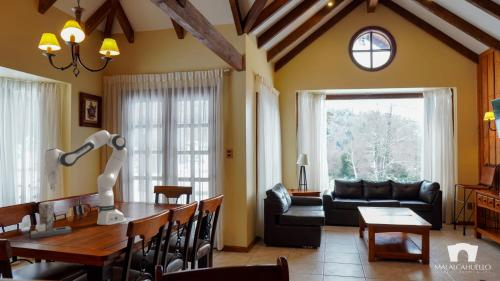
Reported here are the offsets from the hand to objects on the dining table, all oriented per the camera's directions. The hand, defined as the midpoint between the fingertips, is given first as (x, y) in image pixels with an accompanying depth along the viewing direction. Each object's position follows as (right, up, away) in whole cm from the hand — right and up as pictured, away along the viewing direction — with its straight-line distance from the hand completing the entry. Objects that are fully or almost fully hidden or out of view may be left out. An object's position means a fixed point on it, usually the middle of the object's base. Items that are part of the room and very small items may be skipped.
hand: (52, 190), depth 255 cm
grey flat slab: (+3, -30, -8) cm, 31 cm away
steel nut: (-2, -30, -11) cm, 32 cm away
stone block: (-9, -31, +8) cm, 33 cm away
